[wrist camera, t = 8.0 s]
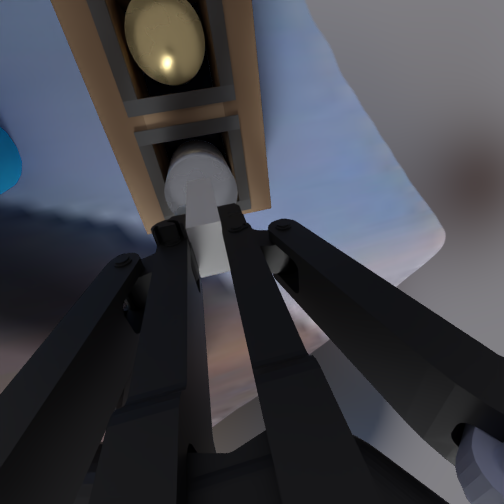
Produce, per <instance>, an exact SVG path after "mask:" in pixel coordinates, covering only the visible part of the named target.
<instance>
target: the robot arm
mask: <svg viewBox="0 0 504 504" xmlns="http://www.w3.org/2000/svg"><path fill="white" fill-rule="evenodd" d="M151 232H152V234H153V237H154V239H155V242H156V244H157V249H156V253H155V254H153V255H151V256H148V257H146V258H143V259H140V257H139V255H138V254H136V253H127V254H122V255H119V256H117V257H116V258H114V259H113V260H111V261H110V262H109V263H108V264H107V265H106V266H105V268H104V269H103V270H102V271H101V273H100V274H99V275H98V276H97V277H96V279H95V280H94V281H93V282H92V283H91V285H90V286H89V287H88V288H87V290H86V291H85V292H84V293H83V294H82V296H81V297H80V298H79V299H78V301H77V302H76V303H75V304H74V305H73V307H72V308H71V309H70V310H69V311H68V313H67V314H66V315H65V316H64V318H63V319H62V320H61V321H60V322H59V324H58V325H57V326H56V327H55V329H54V330H53V331H52V332H51V333H50V335H49V336H48V337H47V338H46V339H45V341H44V342H43V343H42V344H41V346H40V347H39V348H38V349H37V350H36V352H35V353H34V354H33V355H32V357H31V358H30V359H29V360H28V361H27V363H26V364H25V365H24V366H23V368H22V369H21V370H20V371H19V372H18V374H17V375H16V376H15V377H14V378H13V380H12V381H11V382H10V383H9V385H8V386H7V387H6V388H5V389H4V391H3V392H2V393H1V394H0V504H449V503H448V502H446V501H445V500H444V499H443V498H441V497H440V496H438V495H437V494H436V493H434V492H433V491H432V490H430V489H429V488H428V487H426V486H425V485H424V484H422V483H421V482H420V481H418V480H417V479H416V478H414V477H413V476H412V475H410V474H409V473H408V472H406V471H405V470H404V469H402V468H401V467H400V466H398V465H397V464H396V463H394V462H393V461H392V460H390V459H389V458H388V457H386V456H385V455H384V454H382V453H381V452H380V451H378V450H377V449H375V448H374V447H373V446H371V445H370V444H369V443H367V442H365V441H363V440H362V439H360V438H358V437H356V436H354V435H352V433H351V431H350V429H349V427H348V425H347V423H346V420H345V419H344V416H343V414H342V412H341V410H340V408H339V406H338V404H337V402H336V399H335V397H334V395H333V393H332V391H331V388H330V386H329V384H328V382H327V380H326V378H325V376H324V373H323V371H322V369H321V367H320V365H319V363H318V362H317V360H316V358H315V357H314V356H313V355H309V354H308V353H307V351H306V349H305V347H304V345H303V343H302V340H301V338H300V336H299V334H298V331H297V329H296V327H295V325H294V322H293V320H292V318H291V315H290V313H289V311H288V309H287V306H286V304H285V302H284V300H283V297H282V295H281V293H280V291H279V288H278V286H277V284H276V282H275V279H276V280H277V281H278V282H279V283H280V285H281V286H282V287H283V288H284V289H285V290H286V291H287V292H288V293H289V294H290V296H291V297H292V298H293V299H294V300H295V301H296V302H297V303H298V304H299V305H300V307H301V308H302V309H303V310H304V311H305V312H306V313H307V314H308V315H309V316H310V317H311V319H312V320H313V321H314V322H315V323H316V324H317V325H318V326H319V327H320V328H321V330H322V331H323V332H324V333H325V334H326V335H327V336H328V337H329V338H330V339H331V340H332V342H333V343H334V344H335V345H336V346H337V347H338V348H339V349H340V350H341V351H342V353H344V355H345V356H346V357H347V358H348V359H349V360H350V361H351V362H352V363H353V365H354V366H355V367H356V368H357V369H358V370H359V371H360V372H361V373H362V374H363V375H364V377H365V378H366V379H367V380H368V381H369V382H370V383H371V384H372V385H373V386H374V388H375V389H376V390H377V391H378V392H379V393H380V394H381V395H382V396H383V397H384V399H385V400H386V401H387V402H388V403H389V404H390V405H391V406H392V407H393V408H394V409H395V411H396V412H397V413H398V414H399V415H400V416H401V417H402V418H403V419H404V420H405V421H406V422H407V423H408V424H409V425H410V427H411V428H413V430H414V431H416V433H417V434H418V435H420V437H421V438H422V439H423V440H425V441H426V442H427V443H428V444H429V445H430V446H431V447H433V448H434V449H435V450H436V451H437V452H439V454H441V455H442V456H443V457H444V458H445V459H446V460H448V461H449V462H450V463H452V464H453V465H454V466H455V468H456V472H457V477H458V479H459V481H460V483H461V486H462V488H463V491H464V493H465V495H466V498H467V499H468V501H469V502H470V503H471V504H504V357H502V356H500V355H498V354H496V353H495V352H493V351H492V350H490V349H489V348H487V347H486V346H484V345H483V344H481V343H480V342H478V341H477V340H475V339H474V338H472V337H470V336H469V335H468V334H466V333H464V332H463V331H462V330H460V329H459V328H457V327H455V326H454V325H452V324H451V323H449V322H448V321H446V320H445V319H443V318H442V317H440V316H439V315H437V314H436V313H434V312H433V311H431V310H430V309H428V308H427V307H425V306H424V305H422V304H420V303H419V302H418V301H416V300H415V299H413V298H411V297H410V296H408V295H407V294H405V293H404V292H402V291H401V290H399V289H398V288H396V287H395V286H393V285H392V284H390V283H389V282H387V281H386V280H384V279H383V278H381V277H380V276H378V275H377V274H375V273H374V272H372V271H371V270H369V269H367V268H366V267H364V266H363V265H361V264H360V263H358V262H357V261H355V260H354V259H352V258H351V257H349V256H348V255H346V254H345V253H343V252H342V251H340V250H339V249H337V248H336V247H334V246H333V245H331V244H330V243H328V242H327V241H325V240H324V239H322V238H320V237H319V236H317V235H316V234H314V233H313V232H311V231H310V230H308V229H307V228H305V227H304V226H302V225H301V224H299V223H298V222H296V221H294V220H290V219H279V220H276V221H274V222H272V223H271V224H270V225H269V226H268V230H254V229H252V228H251V225H250V224H249V223H246V220H245V218H244V216H243V214H242V211H241V209H240V206H239V205H237V204H235V203H232V204H227V205H222V206H217V205H216V200H215V196H214V192H213V188H212V184H211V179H210V177H208V178H202V179H197V180H192V181H187V188H186V214H182V215H177V216H172V217H171V218H170V219H167V220H163V221H161V222H158V223H156V224H155V225H154V226H152V228H151ZM228 271H231V275H232V280H233V284H234V289H235V293H236V298H237V302H238V306H239V311H240V315H241V320H242V324H243V329H244V333H245V338H246V342H247V347H248V351H249V356H250V360H251V365H252V369H253V374H254V378H255V383H256V387H257V392H258V396H259V401H260V405H261V410H262V414H263V419H264V423H265V427H266V430H265V431H264V432H262V433H261V434H259V435H258V436H256V437H254V438H253V439H251V440H250V441H249V442H247V443H245V444H244V445H242V446H241V447H239V448H238V449H236V450H235V451H233V452H230V453H216V450H215V446H214V442H213V434H212V421H211V407H210V393H209V379H208V365H207V350H206V336H205V322H204V308H203V294H202V283H201V280H200V277H199V273H200V276H201V278H202V277H207V276H211V275H215V274H220V273H224V272H228ZM272 273H273V275H272ZM273 276H274V277H273ZM274 278H275V279H274ZM124 302H125V303H126V306H125V308H124V309H123V303H124ZM114 410H115V411H114ZM105 431H106V432H105ZM104 433H105V437H104V441H103V442H101V440H102V437H103V435H104Z"/></svg>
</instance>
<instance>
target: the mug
mask: <svg viewBox="0 0 504 504" xmlns="http://www.w3.org/2000/svg"><path fill="white" fill-rule="evenodd" d="M21 171H22V161H21V158H20V155H19V152H18V149H17V147H16V145H15V144H14V142H13V141H12V139H11V138H10V137H9V135H8V134H7V133H6V132H5V131H4V130H3V129H2V128H1V127H0V194H2V193H4V192H5V191H7V190H8V189H10V188H11V187H13V186H14V185H15V184H16V183H17V181H18V180H19V178H20V176H21Z"/></svg>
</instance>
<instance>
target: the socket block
mask: <svg viewBox="0 0 504 504" xmlns="http://www.w3.org/2000/svg"><path fill="white" fill-rule="evenodd" d="M130 1H131V0H51V3H52V5H53V8H54V10H55V12H56V15H57V17H58V20H59V22H60V24H61V27H62V29H63V32H64V34H65V36H66V39H67V41H68V44H69V46H70V48H71V51H72V53H73V56H74V58H75V61H76V63H77V65H78V68H79V70H80V73H81V75H82V77H83V80H84V82H85V85H86V87H87V89H88V92H89V94H90V97H91V99H92V101H93V104H94V106H95V109H96V111H97V113H98V116H99V118H100V121H101V123H102V125H103V128H104V130H105V133H106V135H107V138H108V140H109V142H110V145H111V147H112V150H113V152H114V154H115V157H116V159H117V162H118V164H119V166H120V169H121V171H122V174H123V176H124V178H125V181H126V183H127V186H128V188H129V190H130V193H131V195H132V198H133V200H134V203H135V205H136V207H137V210H138V212H139V215H140V217H141V219H142V222H143V224H144V227H145V229H146V231H147V234H151V233H152V232H151V228H152V226H154V225H155V224H156V223H158V222H161V221H163V220H167V219H170V218H171V217H172V216H175V215H174V214H173V213H172V211H171V210H170V208H169V207H168V204H167V202H166V199H165V193H164V189H165V182H166V178H167V174H168V170H169V166H170V161H169V158H168V155H167V151H166V148H165V145H164V142H168V141H174V140H180V139H185V138H191V137H197V136H202V135H208V134H214V133H219V132H221V136H222V141H223V147H224V152H225V158H226V163H227V165H228V167H229V169H230V171H231V173H232V175H233V177H234V179H235V181H236V184H237V191H238V194H237V201H236V204H237V205H239V206H240V209H241V211H242V214H246V213H251V212H256V211H260V210H265V209H270V208H271V200H270V189H269V178H268V168H267V157H266V147H265V136H264V125H263V115H262V104H261V94H260V83H259V72H258V62H257V51H256V41H255V30H254V19H253V9H252V0H187V1H188V2H189V3H195V2H197V4H198V9H199V15H200V20H201V25H202V28H203V32H204V38H205V48H206V53H207V59H208V64H209V70H210V75H211V81H212V86H213V87H210V88H203V89H197V90H191V91H184V92H178V93H172V94H165V95H159V96H153V97H150V96H149V92H148V89H147V86H146V82H145V79H144V76H143V72H142V69H141V68H140V67H139V66H138V64H137V63H136V62H135V60H134V58H133V57H132V54H131V52H130V50H129V47H128V45H127V41H126V36H125V26H124V24H125V13H124V11H127V8H128V5H129V3H130Z"/></svg>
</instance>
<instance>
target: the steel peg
mask: <svg viewBox="0 0 504 504" xmlns="http://www.w3.org/2000/svg"><path fill="white" fill-rule="evenodd" d="M208 177H210V179H211V184H212V188H213V192H214V196H215V200H216V205H217V206H222V205H227V204H232V203H235V204H236V201H237V194H238V191H237V184H236V181H235V179H234V177H233V175H232V173H231V171H230V169H229V167H228V165H227V163H226V161H225V159H224V157H223V155H222V154H221V152H220V151H219V150H218V149H217V148H216V147H215V146H214V145H213V144H211V143H209V142H207V141H204V140H190V141H187V142H184V143H183V144H181V145H180V146H179V147H178V148H177V149H176V150H175V152H174V153H173V155H172V158H171V162H170V166H169V170H168V174H167V178H166V182H165V189H164V193H165V199H166V202H167V204H168V207H169V208H170V210H171V211H172V213H173V214H174V215H175V216H177V215H182V214H186V188H187V181H192V180H197V179H202V178H208Z"/></svg>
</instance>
